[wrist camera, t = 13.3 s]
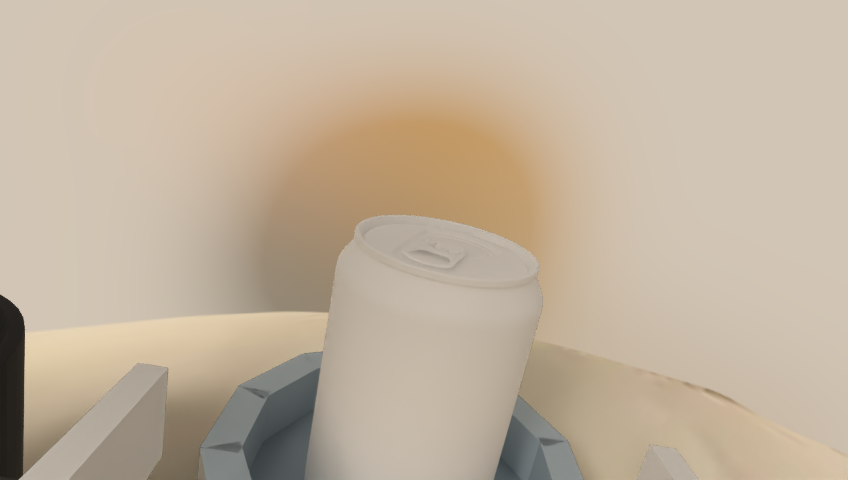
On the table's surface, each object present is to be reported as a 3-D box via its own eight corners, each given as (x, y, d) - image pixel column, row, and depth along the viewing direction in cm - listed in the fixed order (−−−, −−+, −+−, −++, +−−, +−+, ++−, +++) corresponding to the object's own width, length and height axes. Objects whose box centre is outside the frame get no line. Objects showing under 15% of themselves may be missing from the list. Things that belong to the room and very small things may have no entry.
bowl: (108, 674, 15) (110, 590, 14) (268, 379, 30) (274, 328, 29) (624, 747, 16) (659, 671, 15) (528, 423, 31) (542, 375, 30)
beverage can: (503, 479, 25) (569, 252, 22) (439, 618, 18) (523, 311, 14) (364, 412, 28) (403, 202, 25) (261, 508, 21) (295, 230, 17)
